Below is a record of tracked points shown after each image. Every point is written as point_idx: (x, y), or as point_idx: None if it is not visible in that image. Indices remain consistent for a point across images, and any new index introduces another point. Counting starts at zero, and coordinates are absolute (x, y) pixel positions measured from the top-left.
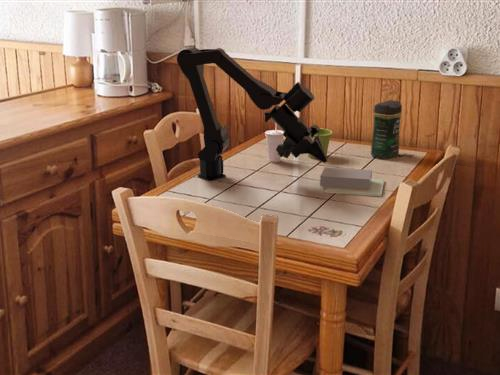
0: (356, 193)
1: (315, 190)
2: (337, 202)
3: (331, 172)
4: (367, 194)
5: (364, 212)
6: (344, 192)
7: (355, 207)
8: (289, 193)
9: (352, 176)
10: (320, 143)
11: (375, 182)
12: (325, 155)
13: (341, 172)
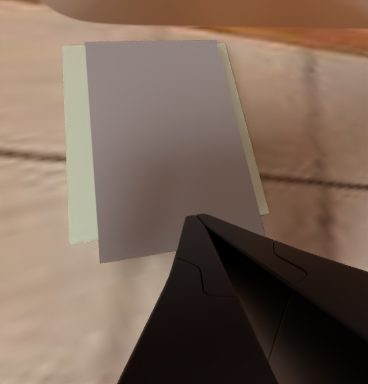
0: (240, 109)
1: None
2: (329, 150)
3: (187, 199)
4: (232, 79)
5: (357, 74)
6: (250, 144)
7: (337, 98)
8: None
9: (207, 101)
10: (227, 298)
11: None
12: (195, 226)
13: (169, 154)
